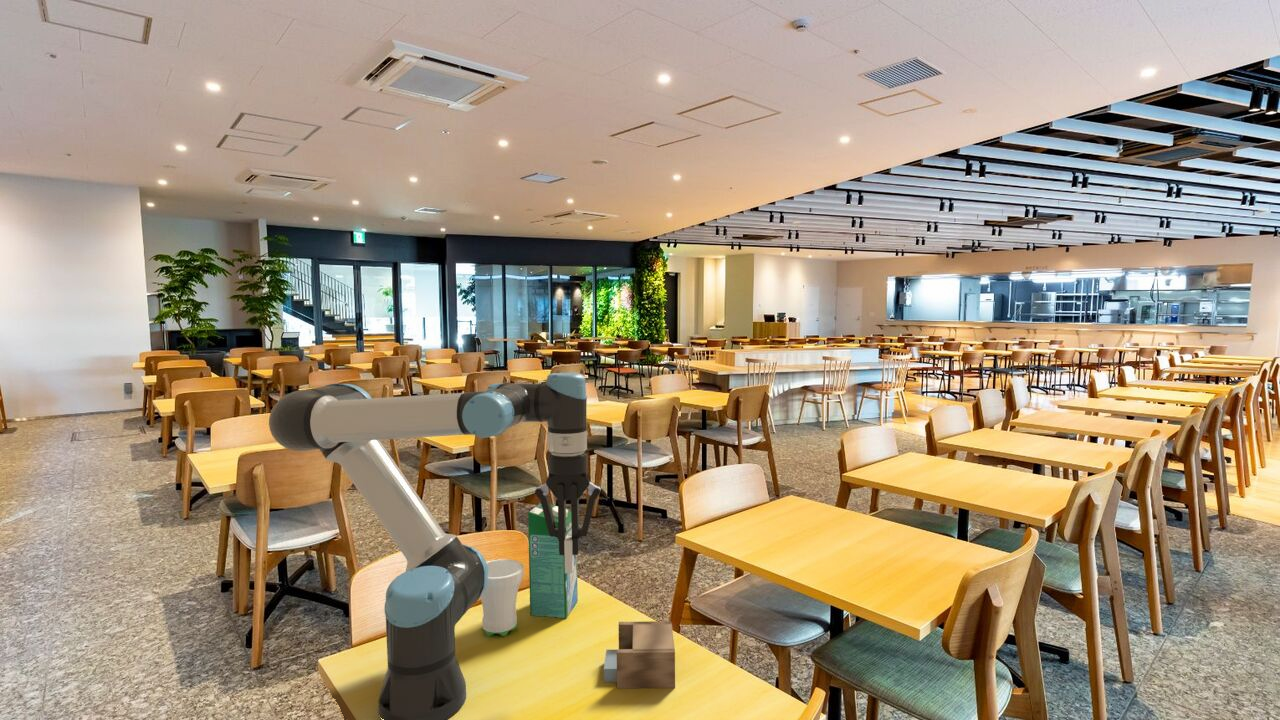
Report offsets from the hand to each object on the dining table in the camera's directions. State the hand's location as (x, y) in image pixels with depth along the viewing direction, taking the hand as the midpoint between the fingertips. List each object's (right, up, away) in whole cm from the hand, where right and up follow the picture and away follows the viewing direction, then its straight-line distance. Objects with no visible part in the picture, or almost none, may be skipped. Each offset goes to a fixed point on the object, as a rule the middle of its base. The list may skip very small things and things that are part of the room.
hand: (569, 570), depth 123 cm
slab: (+12, -21, +1) cm, 24 cm away
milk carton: (-7, -19, +28) cm, 35 cm away
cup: (-18, -20, +18) cm, 32 cm away
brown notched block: (+15, -20, +1) cm, 25 cm away
